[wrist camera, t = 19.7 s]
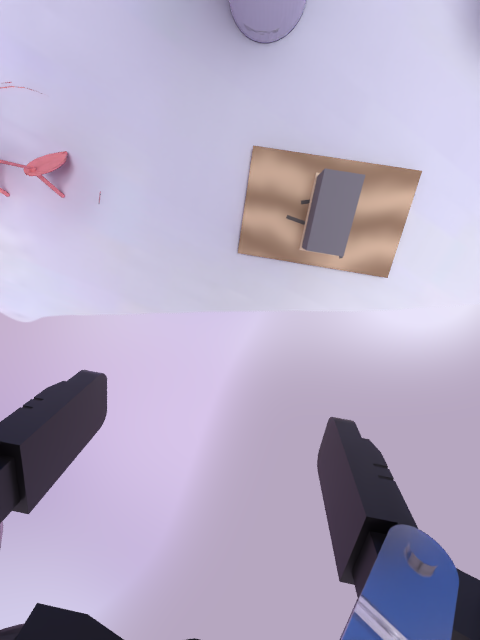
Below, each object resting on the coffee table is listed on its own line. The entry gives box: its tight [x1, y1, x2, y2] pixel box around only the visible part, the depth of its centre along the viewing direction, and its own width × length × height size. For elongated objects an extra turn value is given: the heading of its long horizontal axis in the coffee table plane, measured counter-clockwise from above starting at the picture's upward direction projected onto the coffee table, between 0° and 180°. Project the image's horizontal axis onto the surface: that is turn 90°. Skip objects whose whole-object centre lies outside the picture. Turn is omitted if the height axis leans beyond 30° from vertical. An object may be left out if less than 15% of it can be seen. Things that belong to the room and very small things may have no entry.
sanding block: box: [299, 169, 365, 257], centre depth 37 cm, size 10×5×6 cm, turn 171°
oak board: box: [238, 146, 422, 278], centre depth 40 cm, size 14×22×2 cm, turn 81°
